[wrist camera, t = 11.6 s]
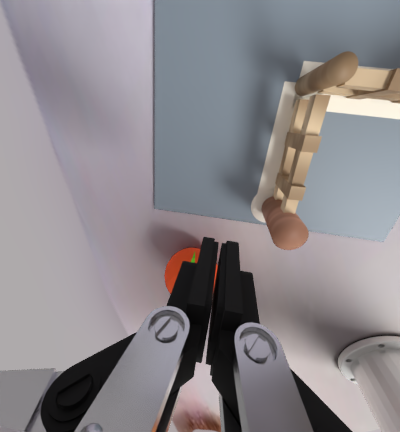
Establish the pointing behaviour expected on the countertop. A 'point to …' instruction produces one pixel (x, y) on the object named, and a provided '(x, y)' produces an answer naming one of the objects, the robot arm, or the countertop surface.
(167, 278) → the clementine
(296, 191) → the fence panel
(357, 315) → the countertop surface
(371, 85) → the fence fixed section
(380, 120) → the card
